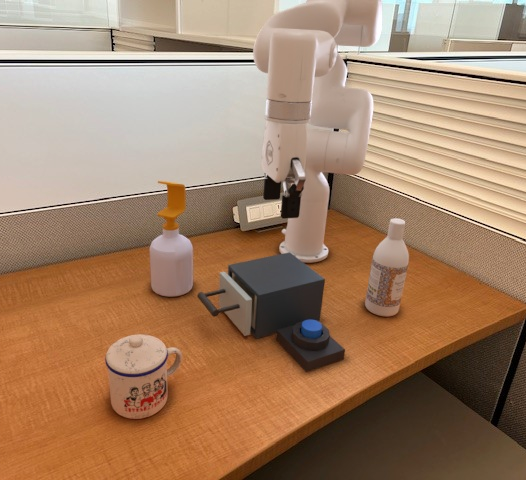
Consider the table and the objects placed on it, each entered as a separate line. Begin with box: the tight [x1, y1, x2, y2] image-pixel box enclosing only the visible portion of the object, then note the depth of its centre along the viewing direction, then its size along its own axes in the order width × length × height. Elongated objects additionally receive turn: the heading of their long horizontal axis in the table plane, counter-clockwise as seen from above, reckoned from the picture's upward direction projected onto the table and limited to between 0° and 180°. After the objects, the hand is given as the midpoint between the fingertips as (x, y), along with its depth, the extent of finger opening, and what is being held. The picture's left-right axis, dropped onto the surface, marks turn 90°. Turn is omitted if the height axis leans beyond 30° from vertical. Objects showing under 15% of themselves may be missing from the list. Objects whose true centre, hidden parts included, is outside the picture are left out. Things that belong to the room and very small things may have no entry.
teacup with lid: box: [104, 334, 183, 420], centre depth 73 cm, size 12×9×12 cm
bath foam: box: [364, 217, 410, 317], centre depth 97 cm, size 7×7×20 cm
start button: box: [301, 319, 322, 339], centre depth 86 cm, size 4×4×2 cm
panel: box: [275, 321, 346, 373], centre depth 87 cm, size 10×8×4 cm
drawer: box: [196, 271, 257, 337], centre depth 93 cm, size 19×11×8 cm, turn 117°
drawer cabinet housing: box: [227, 252, 326, 340], centre depth 96 cm, size 15×13×10 cm
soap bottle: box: [149, 180, 194, 298], centre depth 101 cm, size 9×9×25 cm
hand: (280, 207), depth 86 cm, fingers open, 9 cm apart
